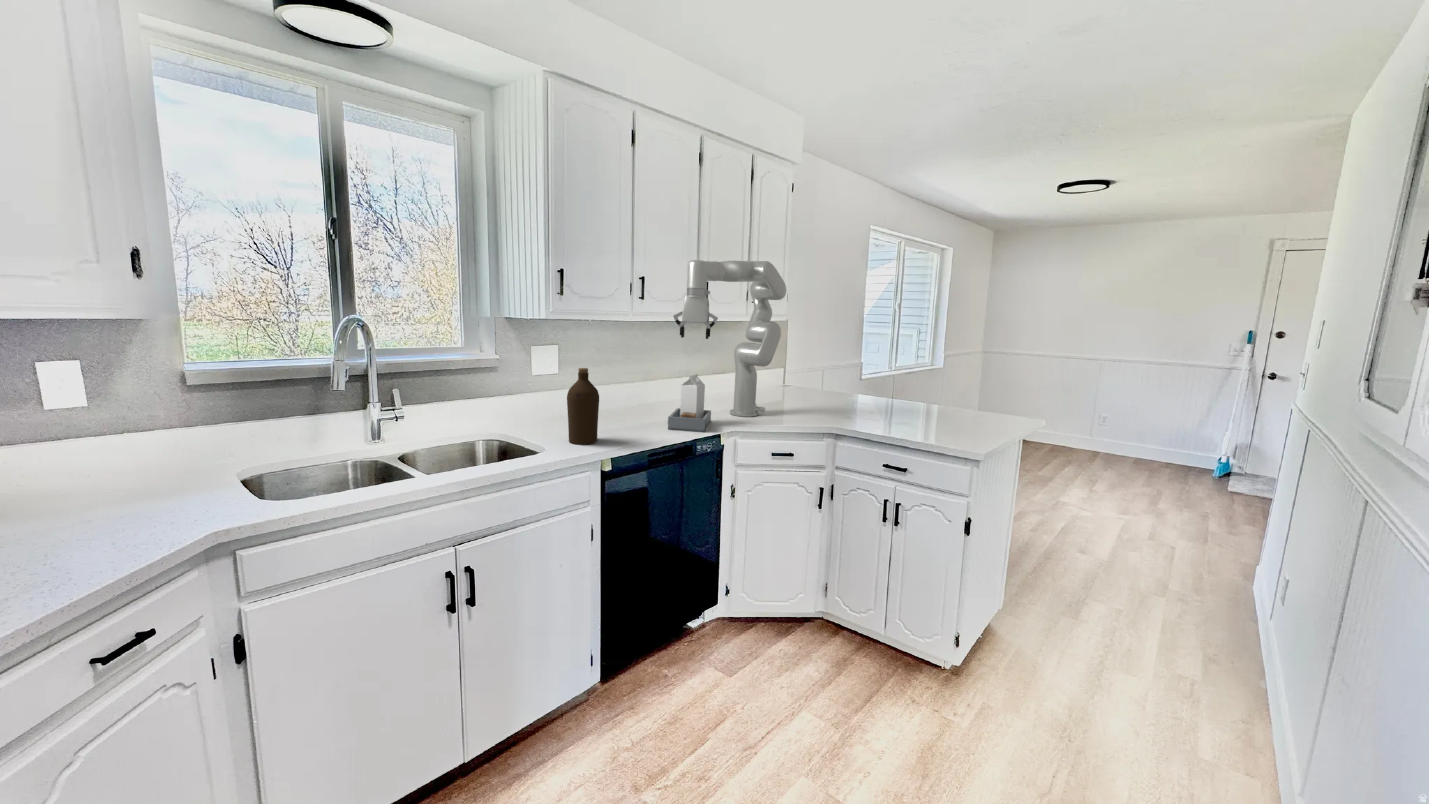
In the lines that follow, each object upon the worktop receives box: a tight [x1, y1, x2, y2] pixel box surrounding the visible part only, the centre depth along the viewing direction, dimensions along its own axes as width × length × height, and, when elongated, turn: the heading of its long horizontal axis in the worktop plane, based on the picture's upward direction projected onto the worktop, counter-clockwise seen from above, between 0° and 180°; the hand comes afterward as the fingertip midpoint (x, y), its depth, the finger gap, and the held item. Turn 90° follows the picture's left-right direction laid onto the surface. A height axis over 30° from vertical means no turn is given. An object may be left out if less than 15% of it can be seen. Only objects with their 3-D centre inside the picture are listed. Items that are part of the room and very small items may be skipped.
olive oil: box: [566, 367, 600, 446], centre depth 194 cm, size 11×11×25 cm
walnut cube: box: [681, 412, 696, 418], centre depth 222 cm, size 5×5×5 cm
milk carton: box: [680, 373, 706, 419], centre depth 229 cm, size 7×7×19 cm
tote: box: [667, 407, 712, 433], centre depth 227 cm, size 14×18×5 cm
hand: (694, 338), depth 224 cm, fingers open, 9 cm apart
